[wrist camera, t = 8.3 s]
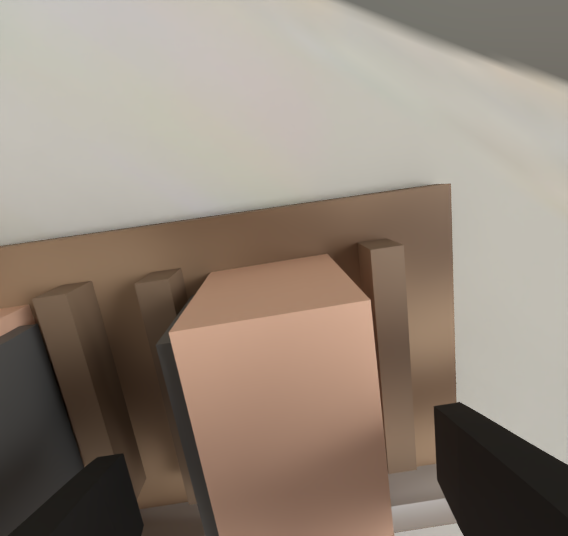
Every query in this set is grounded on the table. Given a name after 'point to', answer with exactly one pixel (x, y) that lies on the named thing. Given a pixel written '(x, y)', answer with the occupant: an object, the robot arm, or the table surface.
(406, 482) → the walnut rack
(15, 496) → the pink block
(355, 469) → the peach rectangular block
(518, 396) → the table surface
